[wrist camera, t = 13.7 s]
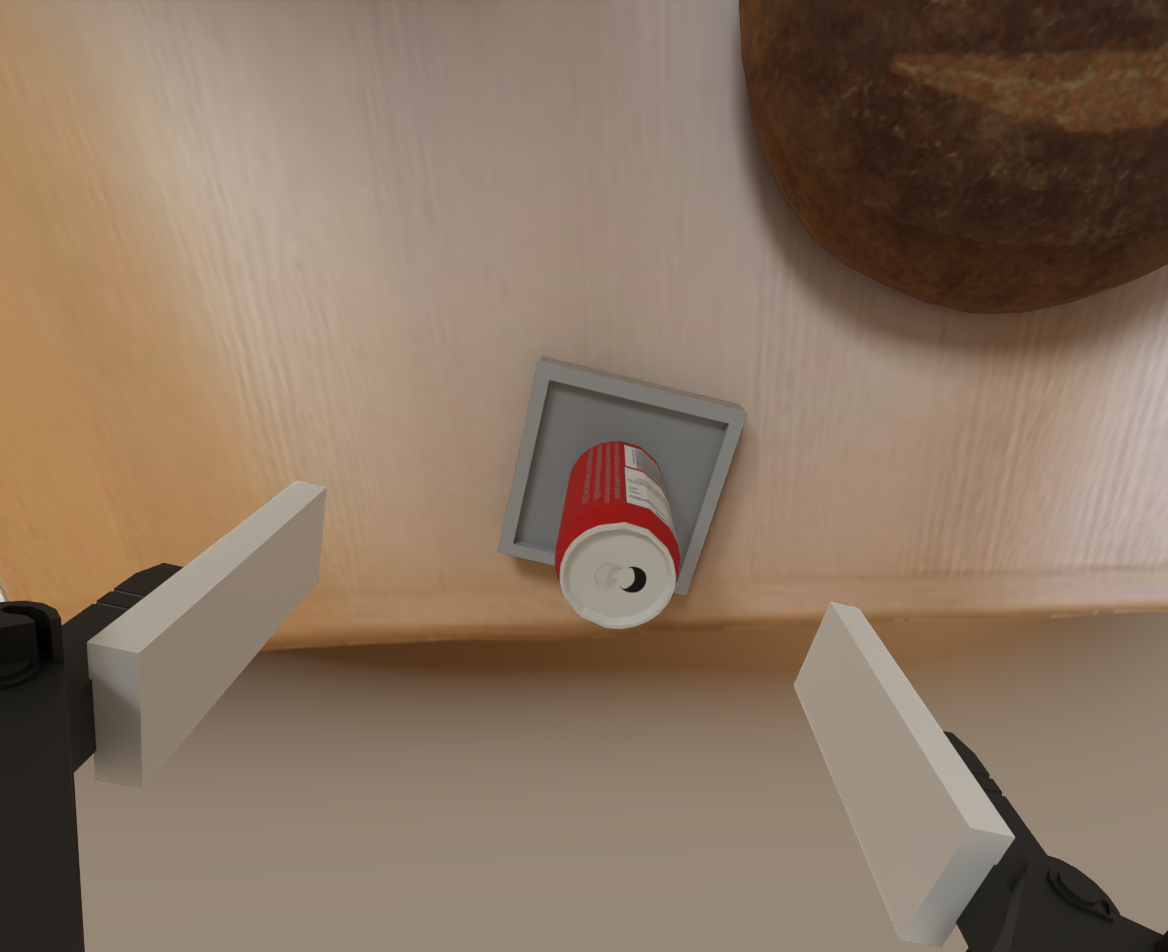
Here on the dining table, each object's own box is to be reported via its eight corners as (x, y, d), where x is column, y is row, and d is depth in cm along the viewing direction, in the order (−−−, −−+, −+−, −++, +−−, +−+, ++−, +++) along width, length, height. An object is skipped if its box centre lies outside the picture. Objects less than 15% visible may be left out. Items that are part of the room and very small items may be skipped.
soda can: (557, 508, 38) (534, 615, 27) (586, 425, 36) (575, 503, 25) (643, 536, 38) (656, 653, 27) (676, 456, 36) (705, 546, 25)
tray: (503, 537, 40) (497, 552, 38) (541, 356, 36) (538, 362, 34) (682, 579, 41) (686, 596, 39) (740, 405, 37) (747, 413, 35)
